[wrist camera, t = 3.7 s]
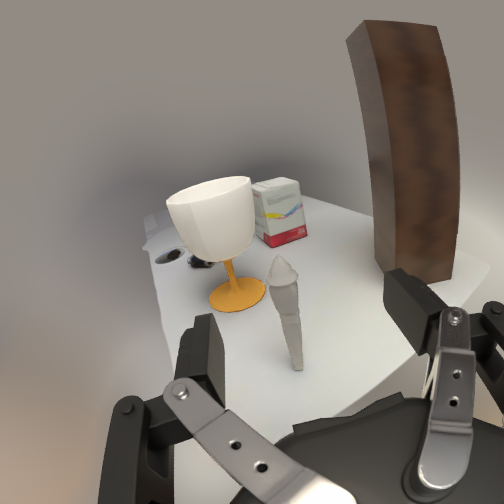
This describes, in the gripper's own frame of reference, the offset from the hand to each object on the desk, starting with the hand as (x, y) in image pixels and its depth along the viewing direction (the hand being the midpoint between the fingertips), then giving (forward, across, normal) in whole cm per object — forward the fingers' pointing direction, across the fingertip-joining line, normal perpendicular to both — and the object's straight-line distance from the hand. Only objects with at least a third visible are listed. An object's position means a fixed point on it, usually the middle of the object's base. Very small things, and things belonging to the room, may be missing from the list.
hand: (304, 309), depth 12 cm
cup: (+28, +6, +16) cm, 33 cm away
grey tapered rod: (+10, 0, +16) cm, 19 cm away
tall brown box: (+23, -22, +16) cm, 35 cm away
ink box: (+46, -4, +16) cm, 49 cm away
